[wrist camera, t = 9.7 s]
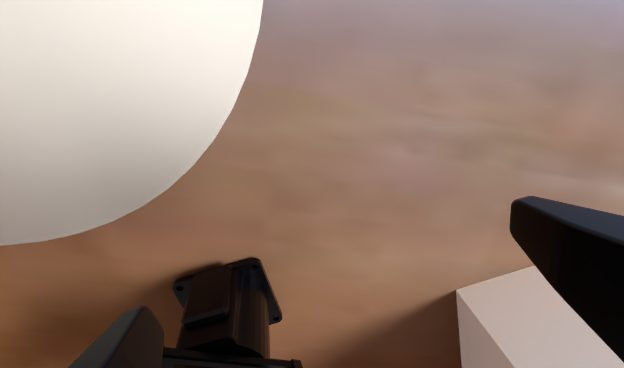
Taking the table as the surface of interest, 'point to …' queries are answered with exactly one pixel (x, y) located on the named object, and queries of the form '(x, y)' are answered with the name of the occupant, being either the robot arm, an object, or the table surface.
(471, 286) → the milk
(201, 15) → the lid
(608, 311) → the robot arm
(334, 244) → the table surface
